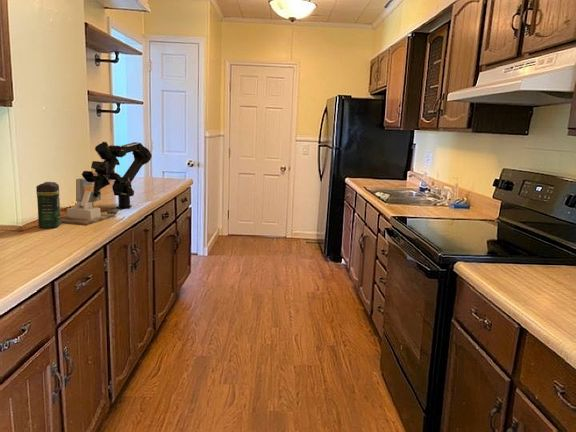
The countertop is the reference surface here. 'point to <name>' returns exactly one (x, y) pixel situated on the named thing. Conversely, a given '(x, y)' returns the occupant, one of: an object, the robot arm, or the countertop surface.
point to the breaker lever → (86, 195)
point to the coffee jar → (48, 205)
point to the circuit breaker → (80, 191)
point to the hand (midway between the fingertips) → (94, 191)
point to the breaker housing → (83, 211)
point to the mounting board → (85, 221)
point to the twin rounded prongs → (112, 211)
